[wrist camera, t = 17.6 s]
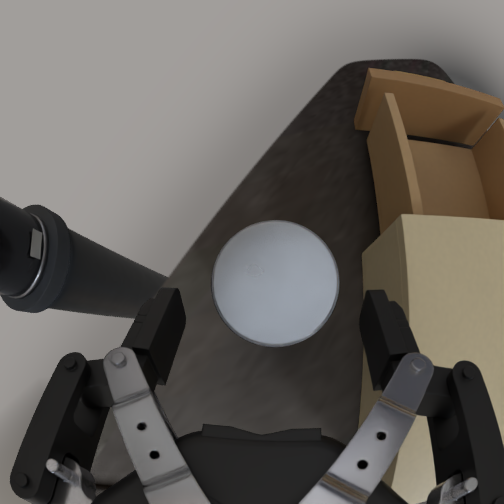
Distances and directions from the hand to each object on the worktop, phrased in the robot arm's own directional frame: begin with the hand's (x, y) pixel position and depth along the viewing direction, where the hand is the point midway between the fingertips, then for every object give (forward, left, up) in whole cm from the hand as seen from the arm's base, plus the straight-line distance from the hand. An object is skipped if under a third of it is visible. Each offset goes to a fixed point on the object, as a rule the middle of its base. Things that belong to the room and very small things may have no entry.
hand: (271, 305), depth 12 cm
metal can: (0, +1, -11) cm, 11 cm away
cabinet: (+15, -4, -11) cm, 19 cm away
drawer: (+15, +12, -10) cm, 22 cm away
